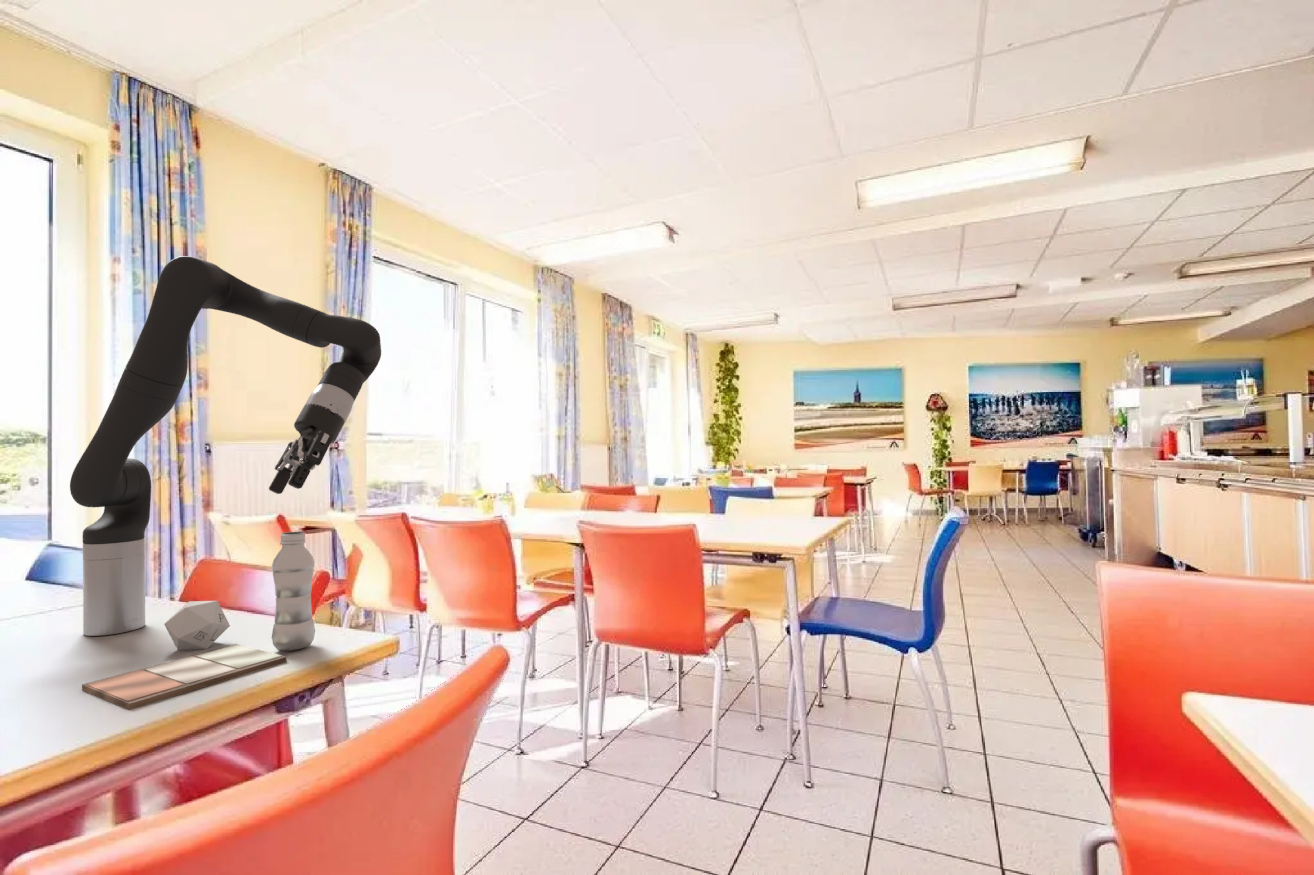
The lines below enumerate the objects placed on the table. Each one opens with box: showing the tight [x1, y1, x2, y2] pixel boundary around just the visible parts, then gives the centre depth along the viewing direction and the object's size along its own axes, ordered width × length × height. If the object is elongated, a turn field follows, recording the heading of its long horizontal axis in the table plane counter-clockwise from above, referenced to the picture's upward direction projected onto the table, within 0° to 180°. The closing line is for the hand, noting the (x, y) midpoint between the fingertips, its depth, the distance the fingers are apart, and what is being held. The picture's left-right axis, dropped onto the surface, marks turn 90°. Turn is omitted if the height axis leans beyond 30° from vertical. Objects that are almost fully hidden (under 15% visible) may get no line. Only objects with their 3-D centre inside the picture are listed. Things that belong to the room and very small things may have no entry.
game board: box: [81, 643, 287, 710], centre depth 98 cm, size 15×21×1 cm
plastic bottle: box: [271, 531, 316, 652], centre depth 110 cm, size 6×7×20 cm
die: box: [163, 600, 231, 651], centre depth 113 cm, size 8×9×10 cm
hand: (284, 489), depth 114 cm, fingers open, 8 cm apart
